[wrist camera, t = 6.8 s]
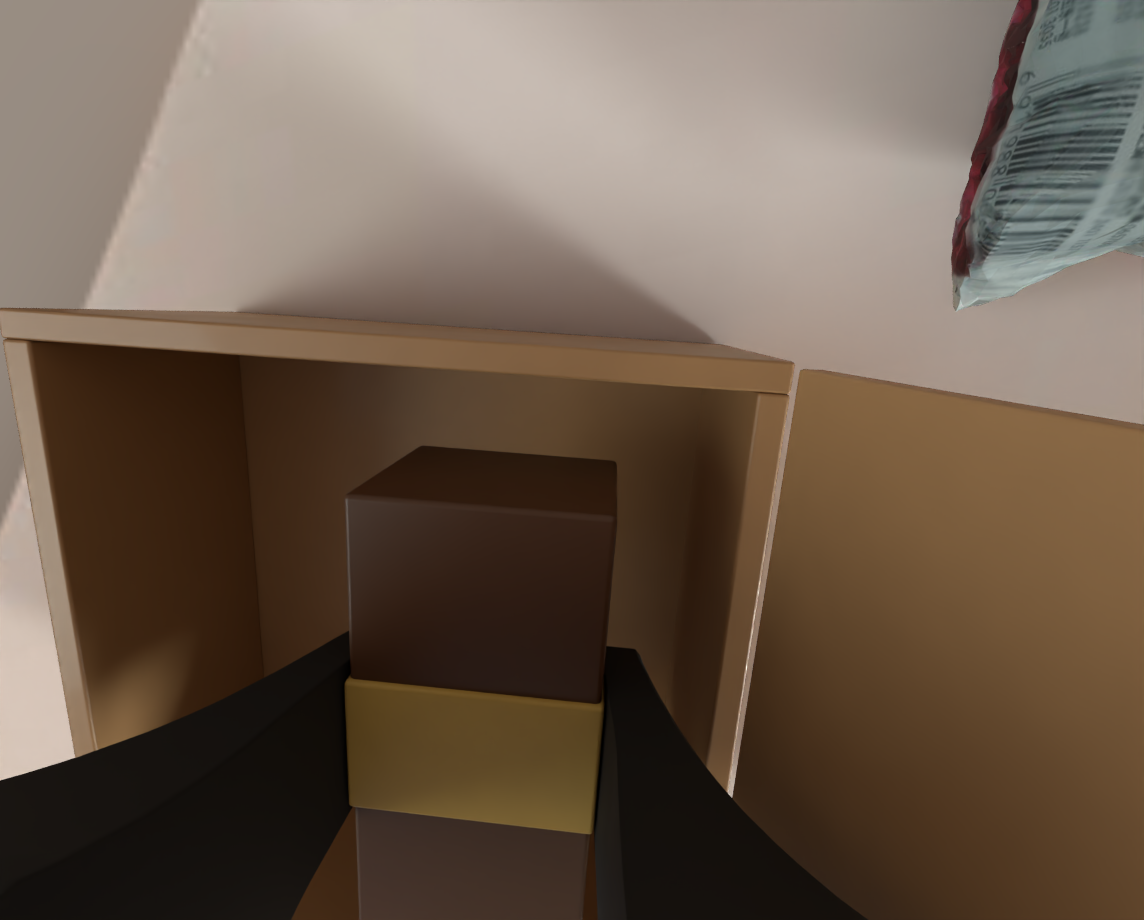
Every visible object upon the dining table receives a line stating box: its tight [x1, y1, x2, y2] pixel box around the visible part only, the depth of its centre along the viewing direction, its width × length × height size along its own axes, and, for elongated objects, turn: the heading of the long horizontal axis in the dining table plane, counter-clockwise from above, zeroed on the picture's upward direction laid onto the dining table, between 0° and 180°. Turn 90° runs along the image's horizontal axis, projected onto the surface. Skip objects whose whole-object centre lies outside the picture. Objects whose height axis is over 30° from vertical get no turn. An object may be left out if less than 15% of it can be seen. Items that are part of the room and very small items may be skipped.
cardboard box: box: [0, 308, 795, 920], centre depth 14 cm, size 13×13×6 cm
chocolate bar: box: [344, 445, 617, 920], centre depth 11 cm, size 8×4×4 cm, turn 176°
